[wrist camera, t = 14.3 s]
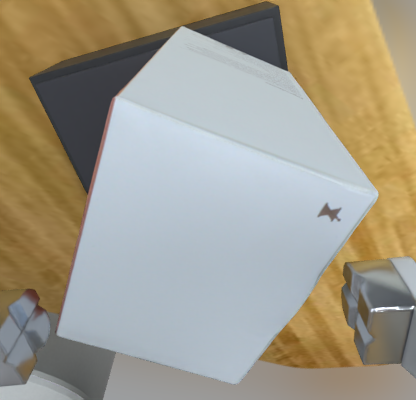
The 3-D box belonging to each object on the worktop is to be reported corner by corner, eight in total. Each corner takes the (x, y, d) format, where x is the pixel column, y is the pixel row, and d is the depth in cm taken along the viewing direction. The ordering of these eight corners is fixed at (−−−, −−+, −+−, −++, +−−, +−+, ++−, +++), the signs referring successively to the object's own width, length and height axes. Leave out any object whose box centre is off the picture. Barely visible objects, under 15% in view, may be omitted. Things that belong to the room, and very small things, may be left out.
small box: (179, 23, 18) (109, 86, 7) (292, 71, 19) (393, 194, 8) (137, 160, 22) (49, 341, 11) (232, 193, 23) (242, 391, 12)
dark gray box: (126, 206, 30) (110, 247, 26) (61, 61, 24) (25, 79, 20) (293, 170, 28) (308, 207, 23) (267, 1, 22) (280, 5, 18)
